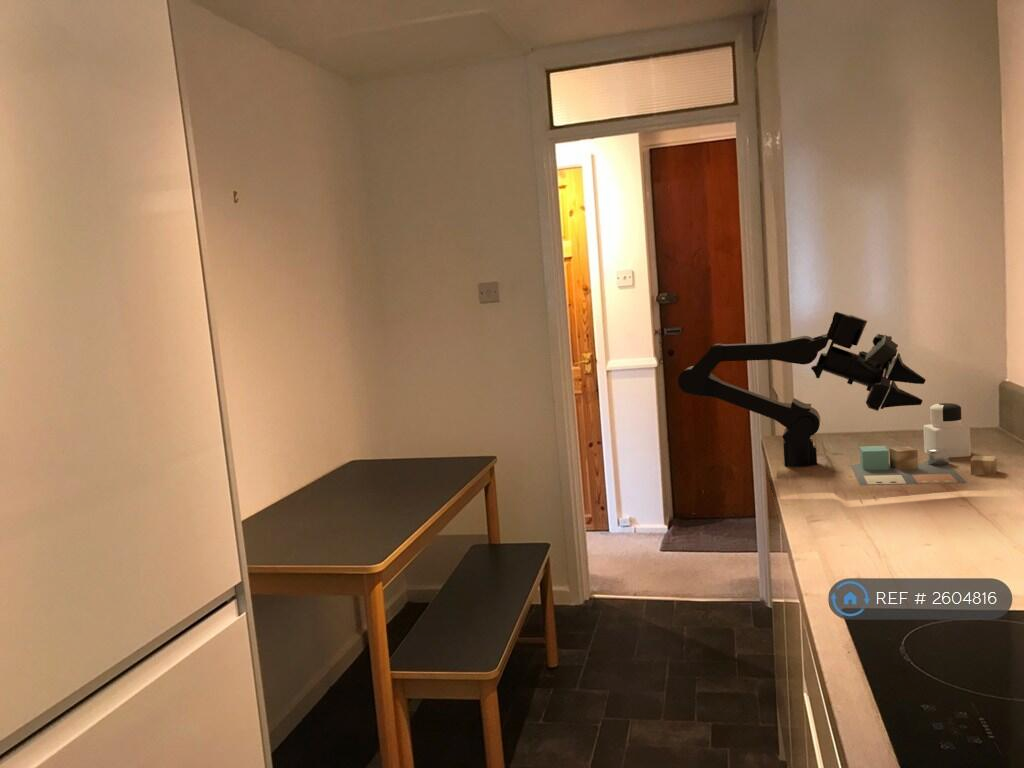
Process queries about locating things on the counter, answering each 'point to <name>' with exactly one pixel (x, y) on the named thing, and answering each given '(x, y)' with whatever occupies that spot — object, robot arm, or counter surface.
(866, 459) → the green cube
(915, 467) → the oak cube
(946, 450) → the metal tin
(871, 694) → the counter surface
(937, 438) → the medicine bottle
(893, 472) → the board
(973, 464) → the oak cube
